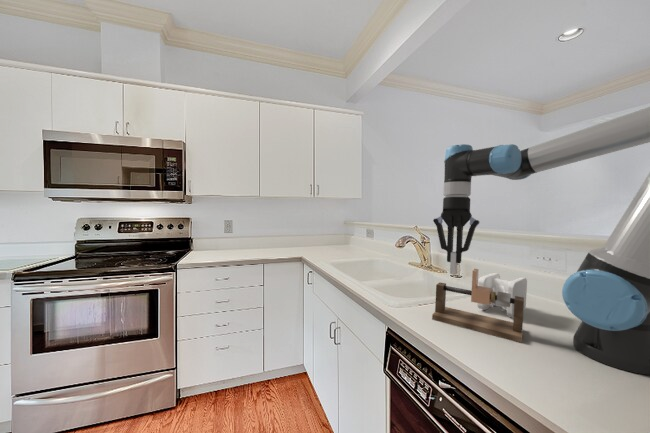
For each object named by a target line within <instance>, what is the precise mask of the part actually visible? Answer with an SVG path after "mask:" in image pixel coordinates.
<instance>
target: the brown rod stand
mask: <svg viewBox="0 0 650 433" xmlns="http://www.w3.org/2000/svg"><path fill="white" fill-rule="evenodd" d="M447 292H453V293H457V294H461V295H462V294H463V295H466V296H467V295H468V296H471V293H472V289H471V290H469V289H464V288H459V287H453V286H450V285H449V286H448V285H447V283H445V282H440V281H439V282H438V283H437V284H436V287H435V306H434V309H435V310H434V312H433V313H432V316H431V320H433V321H437V322H440V323H445V324H448V325H452V326H456V327H460V328H463V329H466V330H472V331H475V332H479V333H483V334H486V335H490V336H493V337H497V338H502V339H505V340H509V341H513V342H517V343H520V344H522V343H523V326H524V324H523V323H524V322H523V321H524V311H523V308H524V297H518V296H515V299H514V298H511V294H509V293H504V292H498V293H497V295H496V292H492V291H491V294H490V299H491V302H492V303H495V300H497V305H501V306H506V307H510V303H513V304H514V318H513V320H512V321H510V320H509V321H508V320H503V319H501V318H500V319H499V318H496V317H490V316H487V315H482V314H479V313H474V312H470V311H465V310H461V309H457V308H452V307H447V306H446V297H447V296H446V295H447V294H446V293H447Z"/></svg>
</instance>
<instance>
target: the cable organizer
mask: <svg viewBox="0 0 650 433" xmlns="http://www.w3.org/2000/svg"><path fill="white" fill-rule="evenodd" d="M478 286H482V287H487V288H491V291H492V292H496V295H497V293H498V292H504V293H509V294H511V298H514V299H515V296H518V297H524V308H523V312H525V309H526V307H527V291H528V288H527V287H528V279H527V277H521V276H520V277H518V278H515V279H513V280H506V279H501V275H500V274H499V273H497V272H492V273H488V274H485V275H482V276H481V277H478ZM476 304H477V309H480V310H482V311H485V310H487V309H489V308H491V309H494V307H498V308H501V309H502V311H503V312H505V311H506V315H507V316H508V317H509V318H511V319H514V304H513V303H510V307H506V306H501V305H497V300H495V303H492V302H490V304H489V305H485V304H480V303H476Z"/></svg>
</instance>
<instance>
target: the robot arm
mask: <svg viewBox="0 0 650 433" xmlns="http://www.w3.org/2000/svg"><path fill="white" fill-rule="evenodd" d="M648 143H650V106H648V107H645V108H642V109H638V110H635V111H633V112H629V113H627V114H624V115H621V116H618V117H615V118H612V119H609V120H606V121H604V122H601V123H597V124H595V125H592V126H590V127H587V128H583V129H579V130H577V131H575V132H571V133H568V134H565V135H563V136H559V137H557V138H554V139H551V140H548V141H545V142H542V143H539V144H535V145H534V146H530V147H527V148H525V149H522V150H520V149H519V146H518V145H516V144H511V143H510V144H499V145H496V146H490V147H485V148H480V149H473V146H472V145H470V144H463V143H462V144H454V145H450V146H448V147H447V148H446V149H445V157H444V161H443V162H444V177H443V178H444V182H443V192H442V193H443V196H444V197H443V199H442V201H443V202H442V212H441V213H440V216H438V217H436V218H433V220H432V221H433V223H434V224H435V226H436V231H437V236H438V239H439V244H440V248H441V250H445V251H446V253H447V254H446V262H447V263H449V274H452V275H456V274H457V273H458V264H461V263H462V255H463V253H465V252H467V251H469V249H470V247H471V243H472V241H473V236H474V234H475V231H476V228H477V227H478V226H479V225H480V220H479V219H478V220H477V219H476V218H474V217H473V215H472V213H471V198H470V196H471V194H472V192H471V191H472V190H471V189H472V178H473V177H477V176H493V177H494V176H496V177H500V178H506V179H509V180H511V181H513V180H514V181H520V180H524V179H527V178H528V177H530V176H531V175H534V174H537V173H540V172H544V171H548V170H552V169H555V168H558V167H562V166H565V165H566V166H567V165H571V164H573V163H578V162H581V161H582V162H583V161H585V160H588V159H592V158H596V157H601V156H603V155H608V154H611V153H615V152H618V151H622V150H625V149H630V148H635V147H637V146H640V145H644V144H648ZM443 222H444V223H445V224H446V225H447V239H446V237H445V236H446V235H445V232H444V227H443ZM468 222H469V225H470V226H469V229H468V230H467V231H468V232H467V233H466V234H467V235H466V237H465V240H464V244H463V234H464V233H463V232H464V227H465V226H466V224H467V223H468ZM455 227H456V245H455V246H456V247H455V251H454V236H455V234H454V232H455ZM561 293H562V295H561V296H562V300H563V302H564V304H565V306H566V307H567V309H568V310H569V311H570V312H571V314H572V315H573V316H575V317H576V318H577V319H578V320H580V321H581V322H580V323H579V326H578V327H577V329H576V331H575V332H574V334H573V338H572V339H573V340H572V346H573V347H574V348H575V350H577V352H579V353H581V354H582V355H585V356H586V357H588V358H590V359H593V360H594V361H597V362H599V363H602V364H605V365H607V366H610V367H613V368H617V369H620V370H623V371H626V372H627V371H628V372H631V373H636V374H641V375H645V376H646V375H647V376H650V172H649V173H648V174H647V176H646V177H645V179H644V180H643V182H642V184H641V186H639V189H638V190H637V192H636V193H635V195H634V197H633V198H632V200H631V201H630V203H629V205H628V206H627V208H626V210H625V211H624V213H623V215H622V216H621V218H620V220H619V221H618V223H617V224H616V225H615V228H614V229H613V231H612V232H611V234H610V235H609V237H608V238H607V240H606V242H605V243H604V245H603V246H602V247H598V248H593V249H590V250H589V251H588V253H587V255H586V256H585V257H584V259H583V261H582V262H581V264H580V265H579V267H578V269H577V270H576V271H575V272H574V273H572V274H570V275H569V277H567V278H566V279H565V281H564V283H563V285H562V290H561Z"/></svg>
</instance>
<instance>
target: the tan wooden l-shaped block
mask: <svg viewBox="0 0 650 433" xmlns="http://www.w3.org/2000/svg"><path fill="white" fill-rule="evenodd" d="M471 279H472V280H471V291H472V293H471V295H470V296H471V297H470V302H471V303H476V304H477V303H480V304H485V305H489V304H490V302H491V299H490V294H491V288H487V287H482V286H478V280H479V269H478V268H474V269H473V270H472V278H471Z"/></svg>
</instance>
